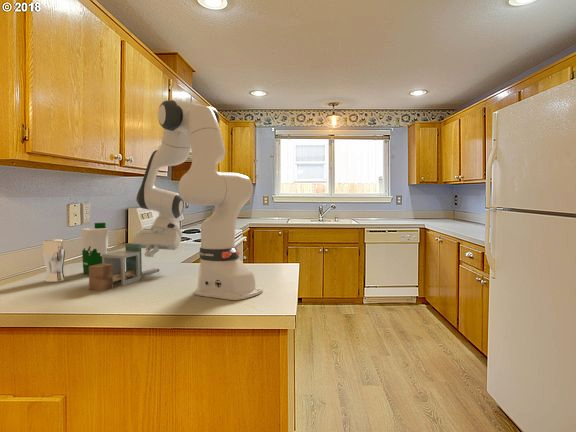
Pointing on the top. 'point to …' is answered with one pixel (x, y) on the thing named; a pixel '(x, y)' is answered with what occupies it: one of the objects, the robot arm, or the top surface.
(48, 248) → the beer glass
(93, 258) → the milk carton
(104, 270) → the walnut block
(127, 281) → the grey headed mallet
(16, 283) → the top surface
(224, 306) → the top surface
